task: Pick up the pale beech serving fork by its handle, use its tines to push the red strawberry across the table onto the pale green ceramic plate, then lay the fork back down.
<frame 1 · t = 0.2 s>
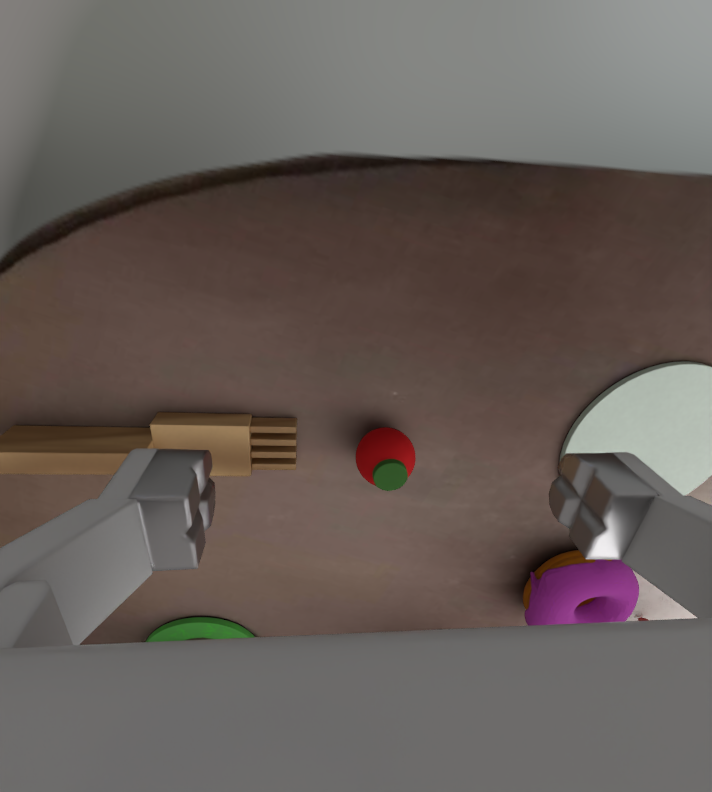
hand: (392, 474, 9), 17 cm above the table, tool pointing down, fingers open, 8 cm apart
strawberry: (385, 457, 28), point 2 cm above the table
toy burger: (198, 649, 39), on the table
fork: (91, 436, 27), on the table
donut: (562, 575, 39), on the table
plate: (647, 444, 32), on the table
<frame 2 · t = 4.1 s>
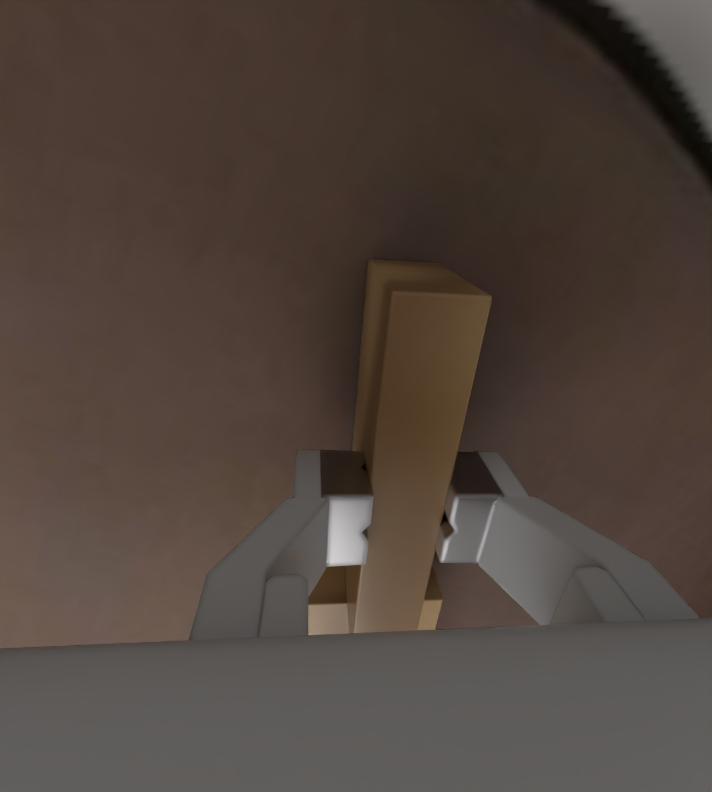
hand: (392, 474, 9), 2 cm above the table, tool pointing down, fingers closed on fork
fork: (382, 436, 11), on the table, touching gripper
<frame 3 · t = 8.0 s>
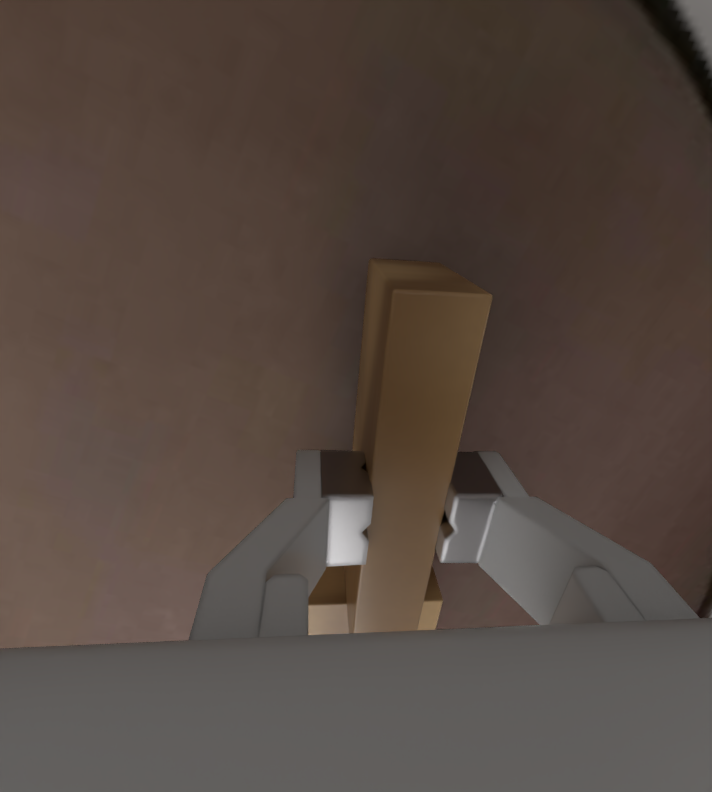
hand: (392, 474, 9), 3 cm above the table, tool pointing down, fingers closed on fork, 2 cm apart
fork: (383, 436, 11), point 2 cm above the table, touching gripper
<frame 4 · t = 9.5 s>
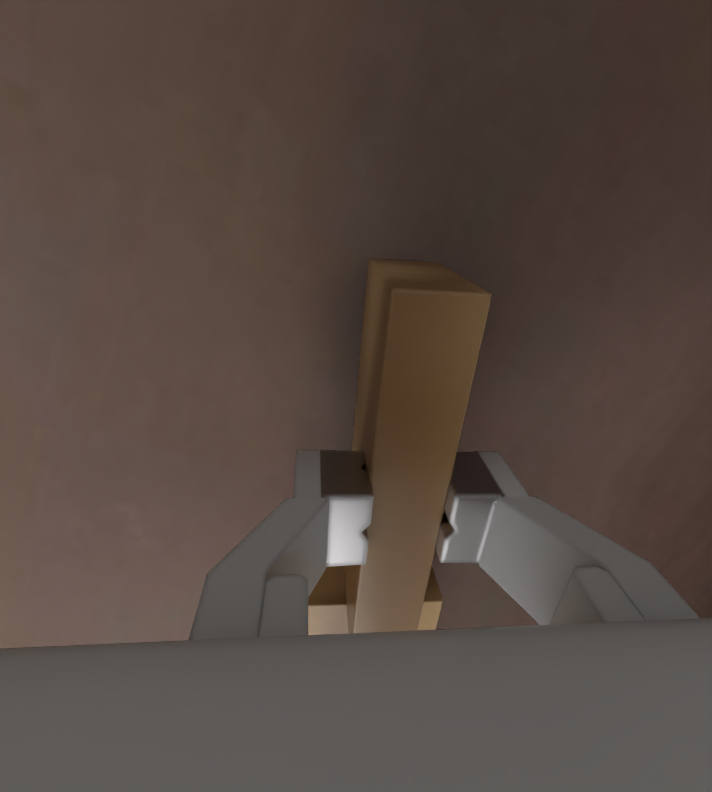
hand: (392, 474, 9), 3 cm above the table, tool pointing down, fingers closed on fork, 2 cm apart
fork: (382, 436, 11), point 1 cm above the table, touching gripper, strawberry
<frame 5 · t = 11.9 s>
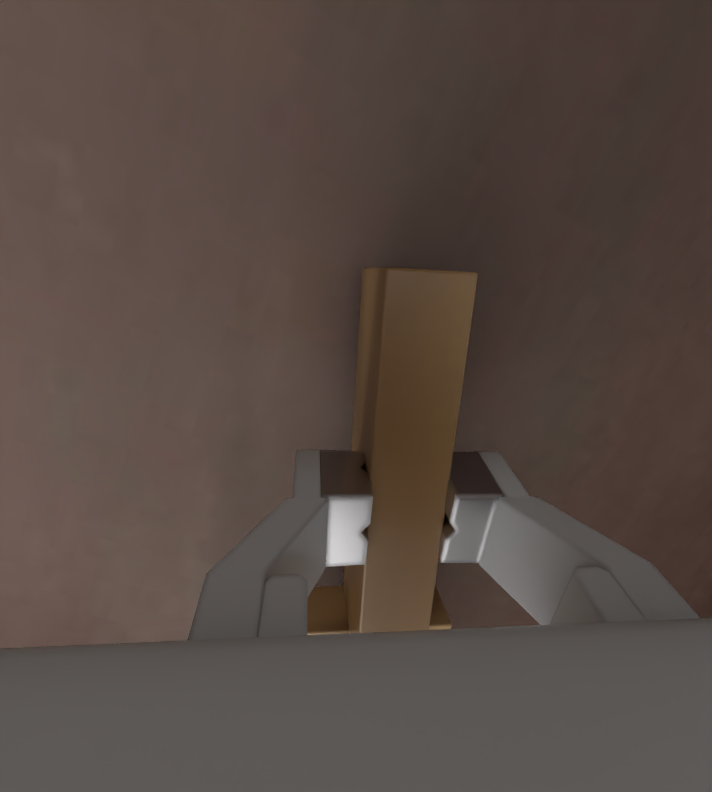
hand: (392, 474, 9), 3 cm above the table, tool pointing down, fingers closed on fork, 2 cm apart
fork: (381, 445, 11), point 1 cm above the table, tilted 10°, touching gripper, strawberry
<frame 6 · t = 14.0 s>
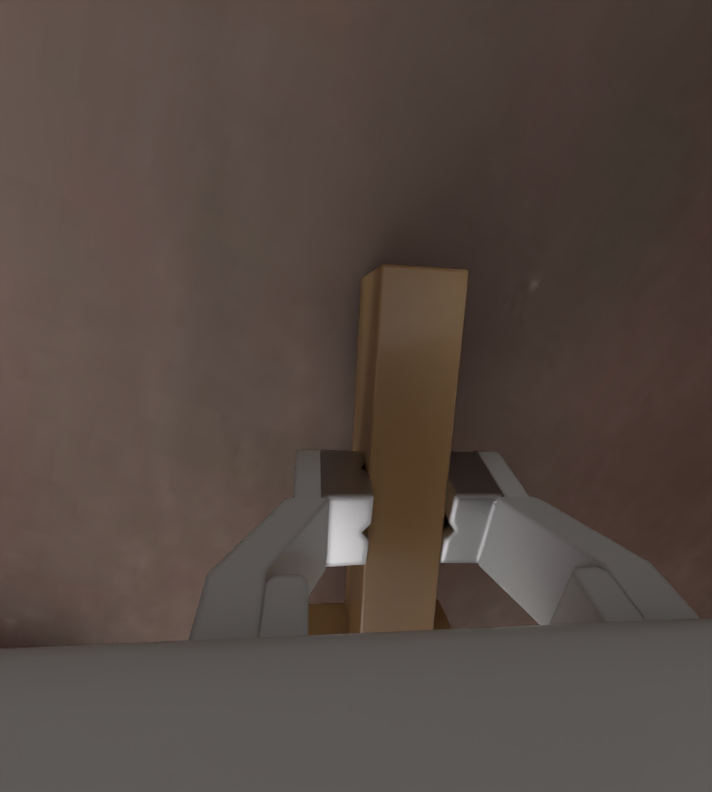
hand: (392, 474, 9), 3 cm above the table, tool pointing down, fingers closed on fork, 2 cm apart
fork: (381, 453, 11), point 1 cm above the table, tilted 16°, touching gripper
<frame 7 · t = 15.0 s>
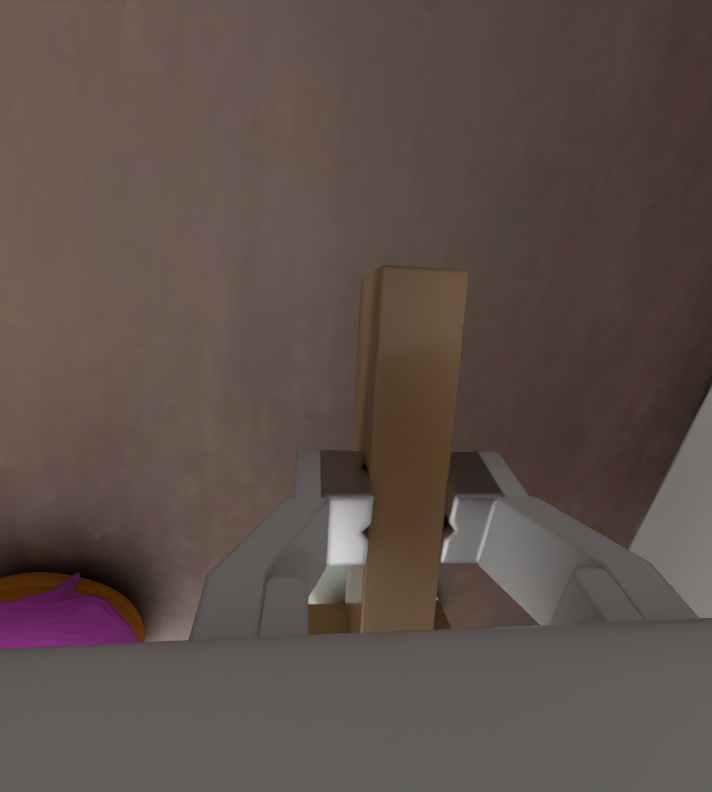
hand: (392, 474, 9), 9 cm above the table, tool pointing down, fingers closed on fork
fork: (381, 453, 11), point 7 cm above the table, tilted 16°, touching gripper
donut: (66, 609, 23), on the table
plate: (329, 624, 26), on the table
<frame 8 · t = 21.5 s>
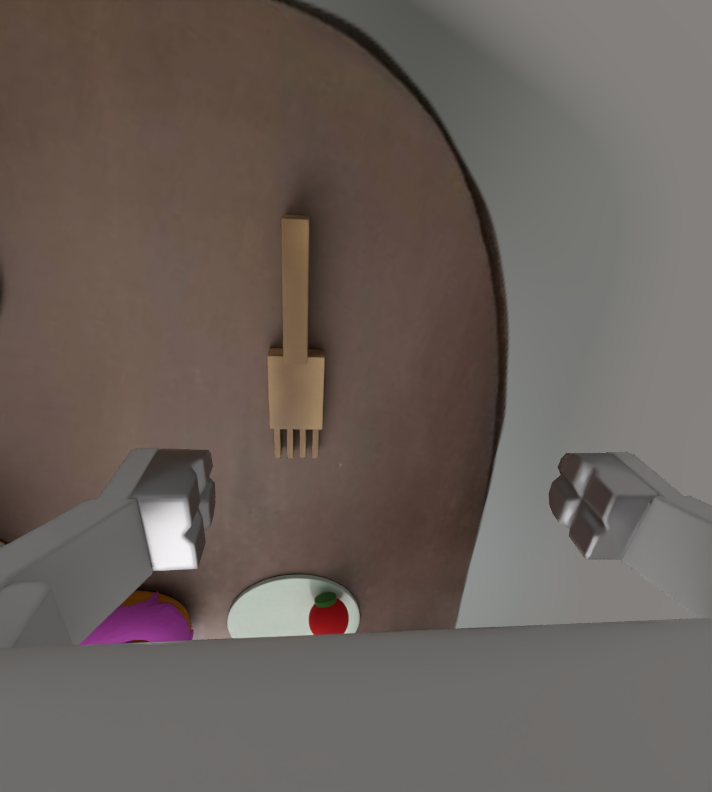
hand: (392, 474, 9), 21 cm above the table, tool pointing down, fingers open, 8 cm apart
strawberry: (328, 618, 41), point 2 cm above the table, tilted 119°, touching plate
fork: (297, 286, 28), on the table
donut: (146, 610, 42), on the table
plate: (294, 618, 44), on the table
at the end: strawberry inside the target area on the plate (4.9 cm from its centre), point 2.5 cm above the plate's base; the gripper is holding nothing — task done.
